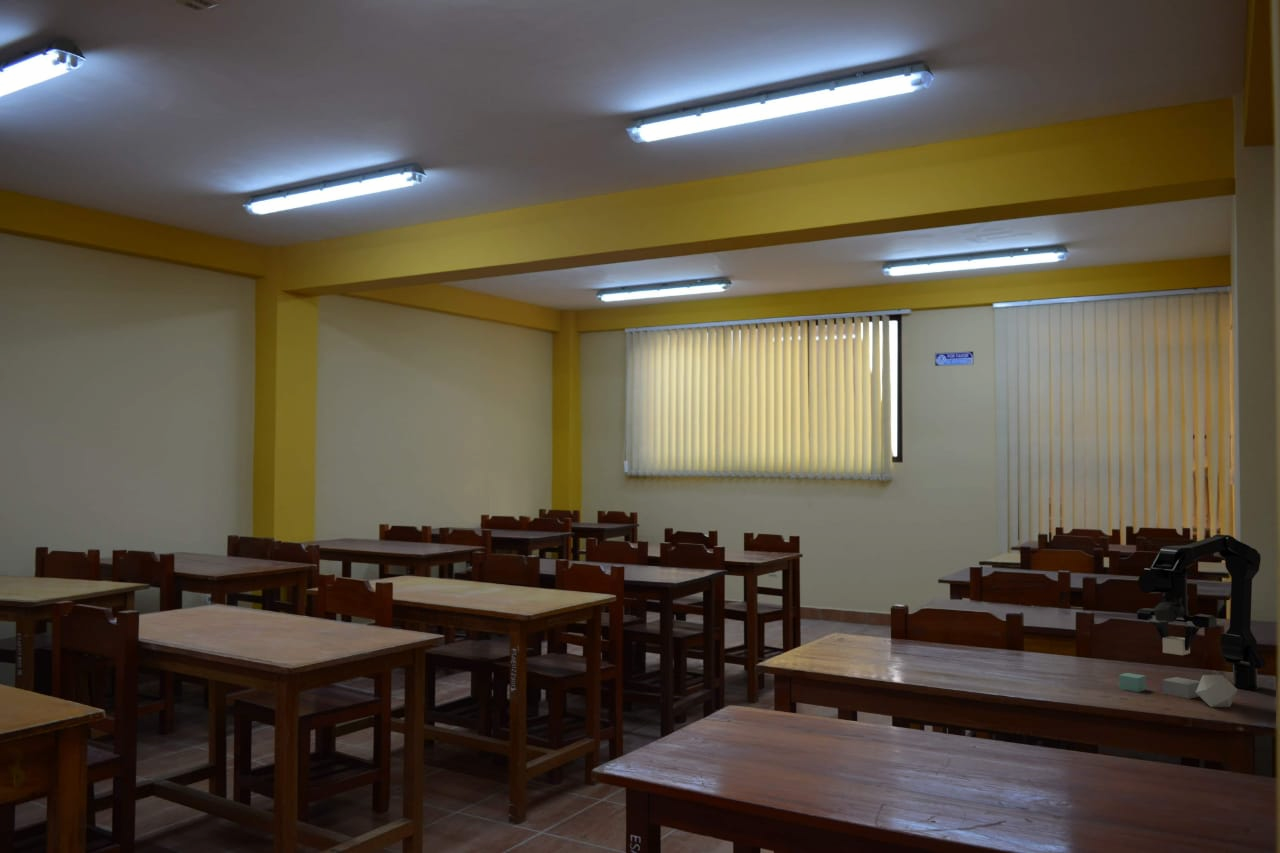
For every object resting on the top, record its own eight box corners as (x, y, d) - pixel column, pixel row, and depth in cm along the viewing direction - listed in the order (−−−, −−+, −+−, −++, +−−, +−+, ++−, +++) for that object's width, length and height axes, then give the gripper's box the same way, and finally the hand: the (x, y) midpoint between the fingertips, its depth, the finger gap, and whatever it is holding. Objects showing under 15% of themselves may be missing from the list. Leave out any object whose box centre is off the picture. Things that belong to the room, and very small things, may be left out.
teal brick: (1127, 686, 264) (1126, 672, 264) (1145, 690, 260) (1145, 675, 260) (1119, 689, 260) (1119, 675, 261) (1138, 692, 257) (1137, 678, 257)
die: (1236, 714, 236) (1247, 681, 239) (1203, 695, 237) (1215, 663, 241) (1217, 718, 243) (1228, 686, 247) (1185, 700, 245) (1197, 668, 248)
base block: (1176, 691, 259) (1176, 676, 259) (1202, 696, 253) (1201, 681, 253) (1162, 694, 255) (1162, 679, 255) (1188, 699, 249) (1188, 684, 249)
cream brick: (1170, 650, 259) (1170, 636, 260) (1190, 653, 255) (1189, 638, 256) (1162, 652, 256) (1162, 637, 257) (1182, 655, 252) (1181, 640, 253)
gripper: (1127, 590, 259) (1128, 647, 258) (1199, 598, 245) (1200, 657, 244) (1145, 588, 266) (1146, 642, 265) (1216, 595, 251) (1218, 653, 250)
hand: (1176, 649), depth 256 cm, fingers closed on cream brick, 5 cm apart
